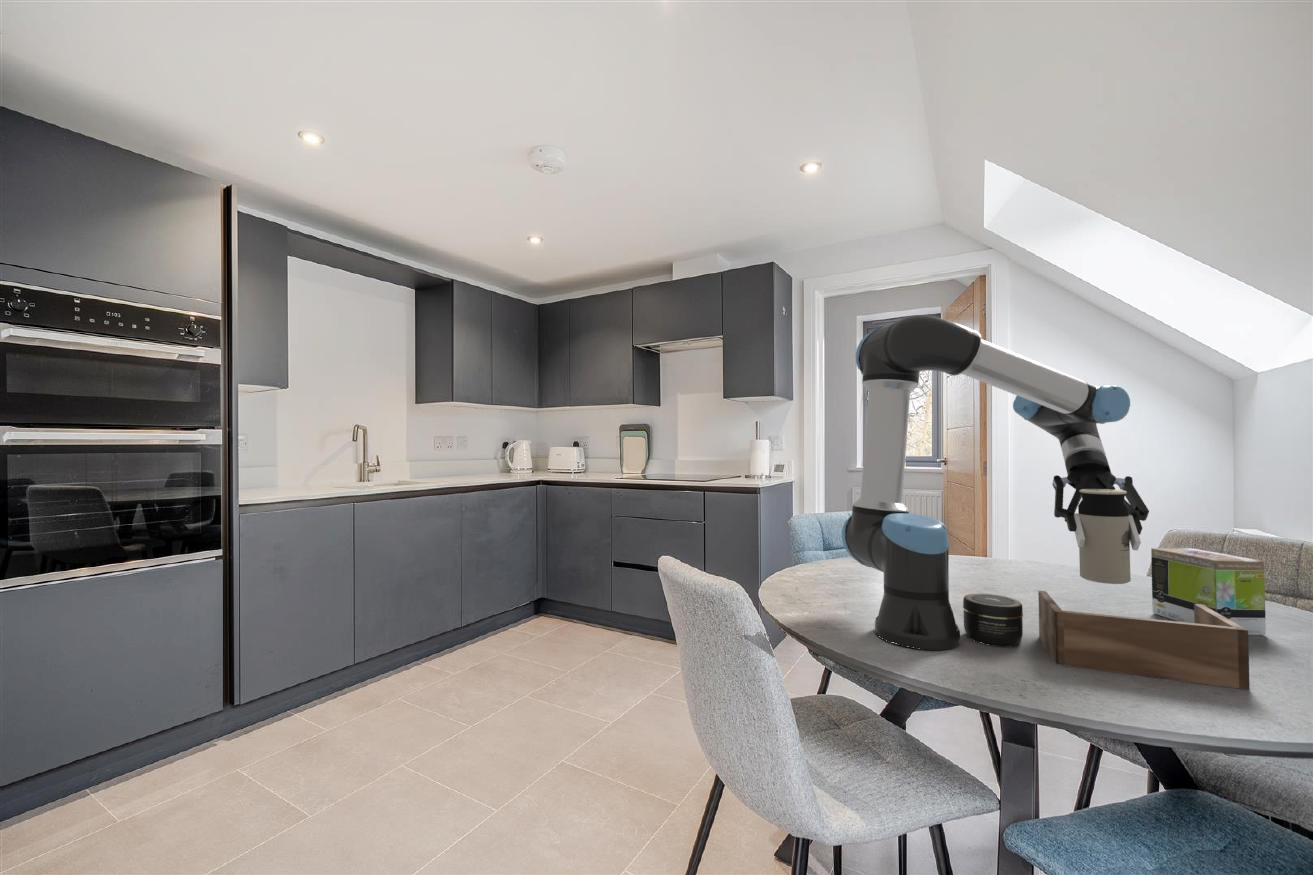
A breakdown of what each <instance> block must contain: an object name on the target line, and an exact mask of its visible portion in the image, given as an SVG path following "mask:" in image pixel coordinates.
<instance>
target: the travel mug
mask: <svg viewBox="0 0 1313 875" xmlns="http://www.w3.org/2000/svg"><path fill="white" fill-rule="evenodd" d="M1079 491H1080V492H1081V495H1082V498H1081V500H1080V502H1079V504H1078V507H1077V509H1078V513H1079V517H1080V521H1081V525H1082V529H1083V533H1084V537H1085V542H1084V545H1083V547H1078V550H1079V557H1078V558H1079V559H1078V560H1079V577H1081V578H1082V579H1084V580H1086V581H1090V582H1094V583H1098V584H1099V583H1100V584H1109V585H1123V584H1127V583H1130V582H1131V579H1132V578H1131V550H1130V548H1131V543H1130V538H1129V508H1128V506H1127V505H1126V503H1125V502H1124V499H1125V498H1126V497H1125V494H1126V493H1127V492H1126V491H1123V490H1121V489H1115V490H1111V489H1081V490H1079Z"/></svg>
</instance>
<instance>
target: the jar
mask: <svg viewBox="0 0 1313 875" xmlns="http://www.w3.org/2000/svg"><path fill="white" fill-rule="evenodd" d="M962 610H963V628H964V631H965V635H966V636H967V637H968V638H969V639H970V638H971V639H970V640H972V639H973V640H972V641H974V640H975V641H974V642H976V641H977V642H976V643H979V642H982V643H984V645H986V644H989V645H988V646H992V645H993V647H1000V646H1006V647H1007V646H1011V647H1015V646H1018V645H1019V644H1020V643H1021V641H1022V638H1023V631H1024V630H1023V625H1024V624H1023V617H1024V612H1023V604H1022V602H1021V601H1019V600H1017V599H1015V598H1012V597H1008V596H1005V595H998V594H991V593H970V594H967V595H966V594H965V595H964V597H963V600H962ZM982 643H981V644H982Z"/></svg>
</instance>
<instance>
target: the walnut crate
mask: <svg viewBox="0 0 1313 875" xmlns="http://www.w3.org/2000/svg"><path fill="white" fill-rule="evenodd" d="M1037 591H1038V631H1039V632H1038V634H1039V635H1038V636H1039V639H1040V641H1041V642H1042V644H1043V645H1044V647H1045V649H1046V650H1047V652H1048V653H1049V655H1050V657H1051V658H1052V660H1053V662H1054V663H1055V665H1058V666H1065V667H1066V666H1067V667H1073V668H1079V669H1080V668H1081V669H1088V670H1089V669H1090V670H1097V671H1103V672H1104V671H1105V672H1113V673H1119V674H1126V675H1133V676H1134V675H1136V676H1143V677H1150V678H1156V679H1157V678H1159V679H1163V680H1164V679H1165V680H1174V681H1180V682H1187V683H1196V684H1202V685H1203V684H1204V685H1211V686H1218V687H1224V688H1225V687H1226V688H1232V689H1233V688H1234V689H1240V690H1241V689H1242V690H1249V691H1250V690H1251V689H1250V687H1251V686H1250V685H1251V684H1250V656H1249V655H1250V652H1249V651H1250V648H1249V635H1248V630H1247V629H1245V628H1243V627H1241V626H1239V625H1238V624H1236V623H1234V622H1232V621H1231V620H1229V619H1227V618H1225V617H1224V616H1222V615H1220V614H1218V613H1217V612H1215V611H1213V610H1211V609H1210V608H1208V607H1206V606H1204V605H1200V604H1194V621H1195V623H1186V622H1178V621H1175V620H1166V619H1165V620H1164V619H1154V618H1144V617H1143V618H1142V617H1132V616H1123V615H1122V616H1121V615H1113V614H1103V613H1102V614H1101V613H1095V612H1094V613H1092V612H1083V611H1081V612H1080V611H1074V610H1073V611H1071V610H1062V609H1061V607H1060V606H1059V605H1058V604H1057V603H1056V602H1055V600H1054V599H1053V598H1052V597H1051V596H1050V594H1049V592H1047V591H1046V590H1045V591H1044V590H1037Z"/></svg>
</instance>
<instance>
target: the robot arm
mask: <svg viewBox="0 0 1313 875" xmlns="http://www.w3.org/2000/svg"><path fill="white" fill-rule="evenodd" d="M855 364H856V367H857V369H858V370H859V371H860V374H861V375H862V382H861V383H862V384H861V385H863V387H864V388H865V389H866V390H867V392H868V398H867V412H866V422H865V423H866V425H865V436H864V437H865V439H864V447H863V449H864V452H863V460H862V461H863V462H862V476H861V488H860V497H859V498H858V499H857V500H856V501H854V502H853V503H852V509H851V510H852V512H851V515H849V517H848V518H847V519H846V520H845V522H844V523H843V526H842V528H841V541H842V542H841V543H842V544H843V545H842V546H843V547H844V550H845V551H846V553H848V555H849V556H850V557H851V558H852V559H854V560H855V561H857V562H858V563H860V565H863V566H864V567H868V568H871V569H874V570H877V571H879V572H882V573H883V597H882V599H881V603H880V606H879V610H878V615H877V616H876V618H875V620H874V633H875V632H876V633H877V635H878V636H880V637H881V638H883V639H885V640H887V641H889V642H888V643H890V642H894V643H897V644H899V645H903V646H902V647H904V646H909V647H914V648H913V649H915V648H920V649H919V650H924V649H929V651H941V650H942V651H943V650H950V649H953V648H956V647H958V646H960V643H961V632H960V628H959V626H958V625H957V623H956V619H955V616H954V615H955V614H954V612H953V608H952V606H951V602H950V592H949V591H950V590H949V589H950V588H949V587H950V586H949V585H950V580H949V579H950V576H949V575H950V574H949V573H950V572H949V569H950V568H949V564H950V562H949V560H950V559H949V558H950V557H949V548H950V540H949V535H948V528H947V526H946V525H945V523H943V522H942V521H941V520H939V519H936V518H934V517H931V516H928V515H927V516H926V515H919V514H916V513H910V510H909V508H908V507H907V506H906V505H905V503H903V493H904V480H905V469H906V468H905V467H906V466H905V464H906V453H907V438H908V428H909V427H908V426H909V424H908V423H909V414H910V401H911V400H910V399H911V398H910V397H911V393H912V392H913V391H914V390H916V389H917V388H918V387H919V383H920V382H919V381H920V372H922V371H933V372H941V373H945V374H947V375H950V376H953V377H956V376H959V375H965V376H966V377H969V378H972V379H973V380H976V381H979V382H982V383H985V384H987V385H989V386H992V387H995V388H996V389H997V388H998V389H1000V390H1003V391H1004V392H1007V393H1009V394H1012V395H1015V397H1014V398H1015V399H1014V400H1013V403H1012V408H1013V411H1014V412H1015V413H1016V414H1017V415H1018V416H1020V417H1022V418H1023V419H1024V421H1028V422H1029V423H1031V424H1033V425H1035V426H1036V427H1038V428H1039V429H1042V430H1043V431H1045V432H1046V433H1048V434H1050V435H1052V436H1053V437H1055V438H1056V439H1057V440H1058V442H1059V446H1060V449H1061V451H1062V452H1061V453H1062V457H1063V460H1064V466H1065V469H1066V474H1067V476H1066V477H1063V476H1062V477H1061V476H1060V475H1054V476H1053V479H1052V487H1053V488H1054V490H1055V491H1054V492H1055V494H1054V513H1053V514H1054V517H1055V518H1063V519H1064V521H1065V523H1066V524H1067V529H1068V531H1069V532H1073V533H1074V536H1075V539H1076V544H1077V547H1078V548H1079V547H1083V545H1084V542H1085V537H1084V533H1083V529H1082V525H1081V521H1080V517H1079V513H1077V512H1076V511H1077V509H1078V505H1079V504H1080V502H1081V500H1082V495H1081V492H1080V491H1079V490H1081V489H1111V490H1116V487H1115V485H1117V486H1118V488H1119V490H1123V491H1126V492H1127V493H1126V494H1125V498H1126V499H1125V498H1124V502H1125V503H1126V505H1127V506H1128V508H1129V538H1130V547H1131V548H1132V551H1139V548H1140V545H1141V543H1142V542H1141V538H1140V535H1141V534H1142V533H1141V532H1142V530H1143V526H1142V523H1141V521H1142V522H1143V521H1144V522H1145V521H1146V520H1147V518H1148V517H1149V513H1150V510H1149V509H1148V507H1147V505H1146V504H1145V502H1144V500H1143V499H1142V497H1141V496H1140V494H1139V491H1137V489H1136V487H1135V486H1134V481H1133V477H1132V476H1130V475H1129V476H1125V477H1124V478H1119V477H1116V476H1115V475H1114V474H1113V473H1112V471H1111V467H1110V465H1109V462H1108V458H1107V456H1106V454H1107V453H1106V452H1105V449H1104V446H1103V442H1102V440H1101V437H1100V433H1099V429H1098V426H1097V424H1100V425H1103V424H1107V423H1115V422H1118V421H1121V420H1123V419H1124V418H1126V416H1127V415H1128V414H1129V412H1130V407H1131V398H1130V396H1129V394H1128V392H1127V391H1126V390H1125V389H1124V388H1123V387H1121V386H1119V385H1106V384H1104V385H1100V386H1099V385H1094V384H1093V383H1092V384H1091V383H1089V382H1086V381H1084V380H1082V379H1079V378H1076V377H1074V376H1072V375H1070V374H1067V373H1064V372H1062V371H1059V370H1057V369H1054V368H1053V367H1050V366H1047V365H1044V364H1043V363H1040V362H1038V361H1036V360H1032V359H1031V358H1028V357H1025V356H1023V355H1021V354H1019V353H1017V352H1016V353H1015V352H1013V351H1011V350H1009V349H1006V348H1004V347H1001V346H999V345H996V344H995V343H991V342H989V341H987V340H984V339H983V338H982V335H981V334H980V332H978V331H977V330H974V329H972V328H969V327H967V326H965V325H962V324H961V323H956V322H954V321H950V320H947V319H944V318H941V317H936V316H932V315H926V314H925V315H924V314H916V315H914V314H913V315H910V316H906V317H902V318H901V319H899V320H897V321H893V322H892V323H889V324H885V325H882V326H878V327H877V328H874V329H873V330H871V331H870V332H868V333H867V334H866V335H865V336H864V337H862V339H861V340H860V341H859V343H858V346H857V348H856V351H855ZM1067 484H1068V485H1069V486H1070V487H1072V488H1073V489H1074V490H1075V491H1074V493H1073V496H1072V497H1071V500H1070V502H1069V504H1068V507H1067V509H1066V508H1064V488H1066V486H1067ZM877 635H876V636H877ZM878 636H877V637H878ZM881 638H880V639H881ZM883 639H882V640H883ZM885 640H884V641H885ZM887 641H886V642H887ZM899 645H898V646H899ZM909 647H908V648H909Z"/></svg>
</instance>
